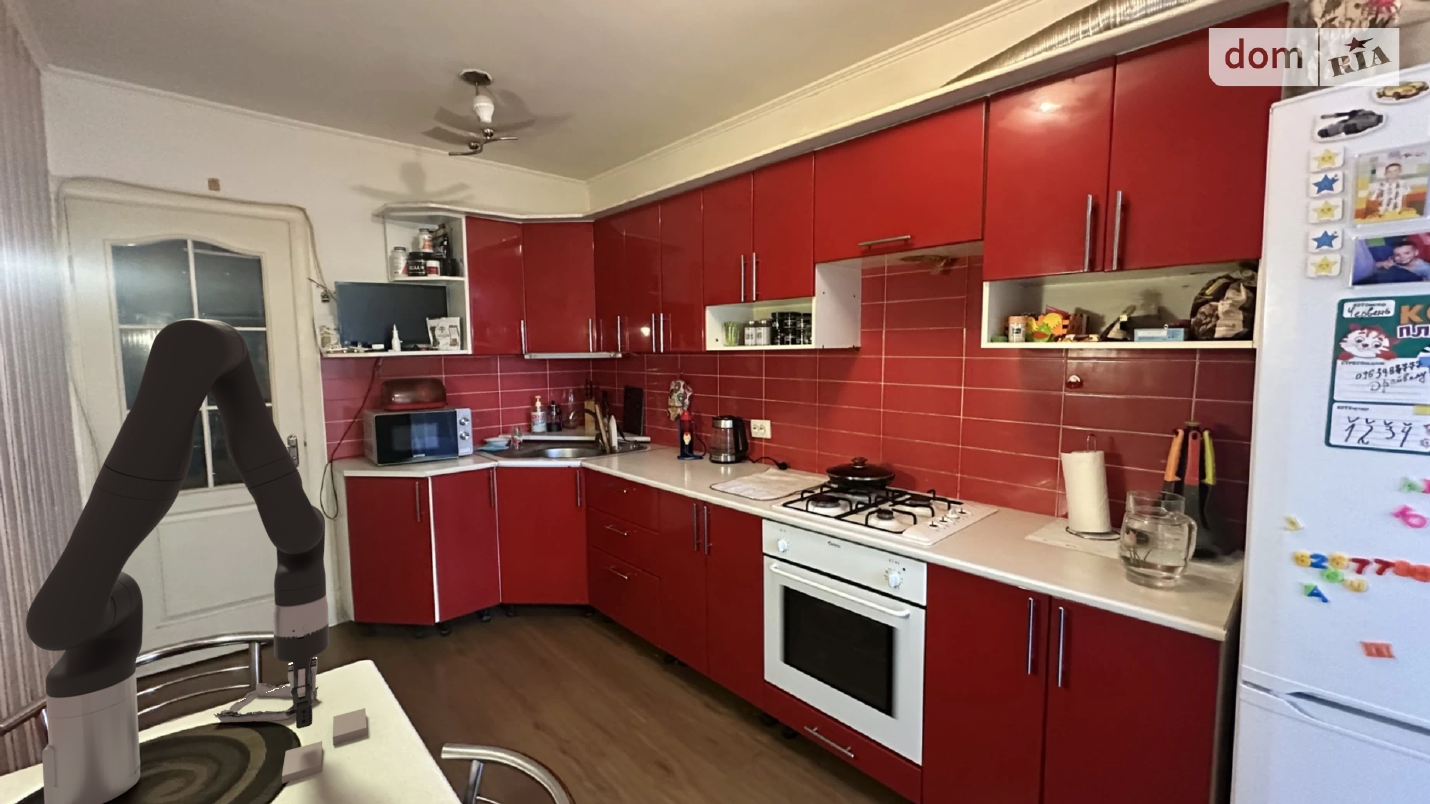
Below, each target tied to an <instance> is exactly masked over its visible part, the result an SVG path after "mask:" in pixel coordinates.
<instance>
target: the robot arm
mask: <svg viewBox="0 0 1430 804" xmlns="http://www.w3.org/2000/svg"><path fill="white" fill-rule="evenodd" d="M151 344H152V345H151V347H150V349H149V350H150V351H149V353H148V357H147V360H146V364H145V367H144V372H143V375H142V377H141V381H140V384H139V388H138V391H137V393H136V396H135V399H134V401H133V404H132V406H131V407H130V409H129V412H128V414H127V415H126V417H125V419H124V421H123V423H122V425H121V427H120V429H119V432H118V433H117V436H116V438H115V439H114V442H113V445H112V446H111V448H110V449H109V452H108V454H107V456H106V458H105V459H104V462H103V464H102V466H101V469H100V470H99V472H98V475H97V477H96V479H95V482H94V483H93V487H92V488H91V491H90V494H89V496H88V499H87V502H86V503H85V505H84V507H83V509H82V511H81V514H80V516H79V518H78V520H77V522H76V524H75V527H74V529H72V533H71V535H70V538H69V540H68V541H67V544H66V546H65V548H64V550H63V552H62V553H61V555H60V557H59V559H58V561H56V564H55V565H54V567H52V570H51V572H50V573H49V575H47V578H46V580H45V581H44V583H42V586H41V588H40V589H39V591H38V593H37V594H36V595H35V597H34V598H33V601H32V602H31V604H30V607H29V609H28V611H27V614H26V619H25V630H26V633H27V635H28V637H29V639H30V641H31V642H32V643H33V644H34V645H35V646H37V647H39V649H40V648H41V649H42V650H46V651H51V652H61V651H62V652H63V651H64V652H63V653H62V654H61V655H62V656H61V657H60V658H59V660H58V661H56V663H55V664H54V665H53V667H52V668H51V669H50V670H49V671H48V673H47V675H46V677H45V693H46V694H45V696H46V698H45V699H46V716H47V717H46V718H47V736H48V737H47V738H48V743H47V744H46V746H45V747H44V749H43V750H42V752H41V755H42V756H41V757H42V759H41V760H42V777H43V779H42V780H43V781H42V782H43V797H44V798H43V800H44V804H104V803H107V802H109V801H112V800H113V799H115V798H117V797H119V796H121V795H122V794H124V793H126V792H128V790H130V789H131V788H133V787H134V785H136V784H137V783H138V782H139V780H140V777H141V759H140V735H139V734H140V733H139V716H138V715H139V713H138V692H137V665H136V664H137V659H138V657H139V654H140V653H141V649H142V645H143V629H144V625H143V624H144V603H143V602H144V601H143V593H142V590H141V588H140V586H139V583H138V582H137V580H135V578H134V577H133V576H131V575H130V574H128V573H126V572H124V571H123V568H124V567H125V565H126V564H127V561H128V560H129V558H130V557H131V556H132V554H133V553H134V552H135V550H136V549H138V548H139V546H140V545H141V544H142V542H144V541H145V539H147V537H148V536H149V535H150V534H151V533H152V532H153V530H155V529H156V527H157V526H158V525H159V523H161V522H162V520H163V519H164V517H165V516H166V515H167V513H168V512H169V510H171V508H172V506H173V505H174V503H175V501H176V500H177V498H178V495H179V493H180V490H181V488H182V487H183V485H184V482H185V479H186V477H187V476H188V474H189V473H188V472H189V470H190V467H191V463H192V458H193V453H194V441H195V440H194V437H195V425H196V421H197V417H198V415H199V412H200V410H201V407H202V406H203V403H204V402H205V400H206V398H207V396H208V395H210V396H211V397H212V399H213V402H214V403H215V405H216V408H217V410H218V412H219V415H220V417H221V422H222V425H223V430H224V435H225V439H226V443H227V444H226V445H227V448H228V451H229V455H230V457H231V460H232V463H233V464H234V467H235V469H236V470H237V472H238V474H239V476H240V478H241V480H242V482H243V484H244V485H245V488H246V489H247V491H248V492H249V494H250V495H251V497H252V499H253V500H254V502H255V505H256V508H257V512H258V515H259V517H260V519H261V521H262V525H263V527H264V530H265V532H266V535H267V536H268V539H269V540H270V542H271V543H272V545H273V546H274V547H276V561H277V562H276V564H277V565H276V571H275V574H274V579H273V580H274V581H273V588H274V589H273V590H274V591H273V592H274V606H273V607H274V610H273V616H272V617H273V619H272V623H273V626H272V627H273V628H272V629H273V656H274V659H276V660H277V661H279V662H282V663H286V662H288V669H287V680H288V682H289V686H290V695H291V697H290V698H292V706H293V708H294V710H296V714H295V726H296V729H304V728H307V727H310V726H311V725H312V724H313V704H314V700H313V697H314V694H313V692H314V691H315V689H316V683H317V674H318V656H319V655H320V654H323V653H324V652H325V651H327V649H328V648H329V646H330V625H329V624H330V623H329V604H328V598H327V580H326V578H327V577H326V569H325V560H324V559H325V558H324V557H325V546H326V545H325V543H326V542H325V541H326V519H325V516H324V514H323V512H322V511H321V510H320V509H319V508H317V507H316V506H315V505H313V504H311V501H310V499H309V498H308V496H307V494H306V492H305V490H304V487H303V479H302V476H301V474H300V471H299V469H297V468H298V467H297V466H296V463H295V462H294V460H293V457H292V456H291V454H290V452H289V450H288V448H287V446H286V444H285V443H284V441H283V439H282V437H281V435H280V433H279V430H278V428H277V425H275V422H274V420H273V418H272V415H271V413H270V412H269V409H268V407H267V403H266V401H265V399H264V396H263V394H262V391H261V389H260V385H259V383H258V380H257V376H256V373H255V369H254V366H253V362H252V358H251V356H250V352H249V348H248V346H247V343H246V340H245V338H244V336H243V335H242V334H241V332H240V331H239V330H238V329H236V328H235V327H234V326H233V325H231V324H228V323H226V322H223V321H221V320H218V319H217V320H216V319H210V318H209V319H208V318H182V319H177V320H175V321H173V322H171V323H168V324H167V325H166V326H164V327H163V328H161V330H160V331H159V332H158V333H157V334H156V336H155V337H154V339H153V342H152V343H151Z"/></svg>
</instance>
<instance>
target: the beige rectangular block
mask: <svg viewBox="0 0 1430 804" xmlns="http://www.w3.org/2000/svg"><path fill="white" fill-rule="evenodd" d="M366 710H367V709H366V707H365V708H360V709H355V710H353V711H349V712H345V713H341V714H338V715H334V716H333V717H332V719H333V721H332V745H337V744H340V743H343V742H348V741H351V740H354V739H357V738H361V737H365V736H367V734H368V731H367V730H368V726H367V714H366V713H367V712H366Z"/></svg>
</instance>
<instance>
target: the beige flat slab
mask: <svg viewBox="0 0 1430 804" xmlns="http://www.w3.org/2000/svg"><path fill="white" fill-rule="evenodd" d="M283 760H284V761H283V767H282V773H281V783H282V784H286V783H289V782H291V781H295V780H299V779H301V778H302V779H303V778H305V777H308V776H312V775H315V774H318V773H322V760H323V740H321V741H316V742H313V743H310V744H305V745H302V746H299V747H296V748H292V749H287V750H285V755H284V759H283Z"/></svg>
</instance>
